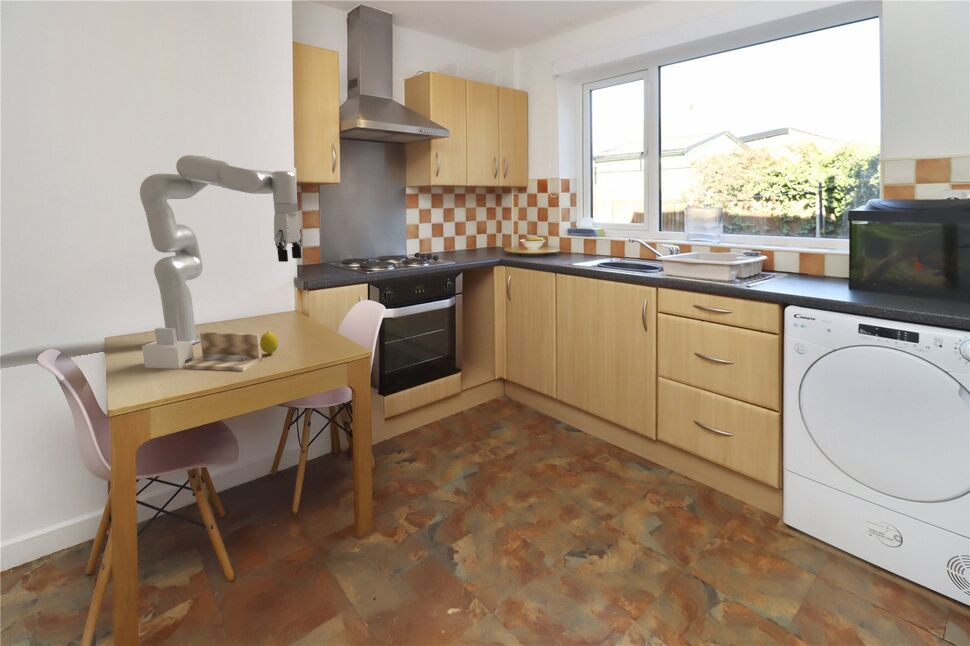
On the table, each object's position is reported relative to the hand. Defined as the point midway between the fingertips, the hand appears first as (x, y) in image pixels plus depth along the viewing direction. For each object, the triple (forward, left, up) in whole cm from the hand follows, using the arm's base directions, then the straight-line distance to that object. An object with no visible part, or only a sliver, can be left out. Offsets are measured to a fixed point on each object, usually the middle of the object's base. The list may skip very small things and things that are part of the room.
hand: (290, 259), depth 187 cm
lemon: (-5, -10, -31) cm, 33 cm away
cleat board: (-14, -22, -31) cm, 41 cm away
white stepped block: (-31, -25, -31) cm, 51 cm away
